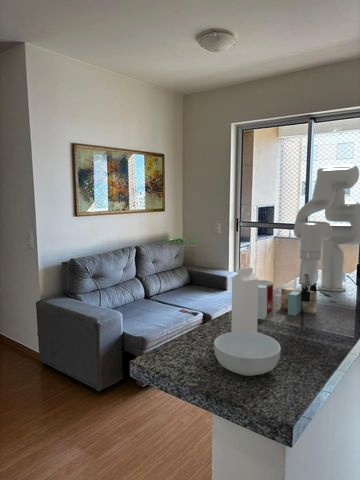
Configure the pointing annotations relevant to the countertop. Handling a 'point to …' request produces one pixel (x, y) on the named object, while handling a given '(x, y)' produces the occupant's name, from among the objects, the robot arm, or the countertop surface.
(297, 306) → the light blue block
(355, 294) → the countertop surface
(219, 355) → the cereal bowl
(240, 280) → the milk
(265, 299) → the skincare box
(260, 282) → the canned food
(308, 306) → the beige flat block
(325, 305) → the countertop surface
